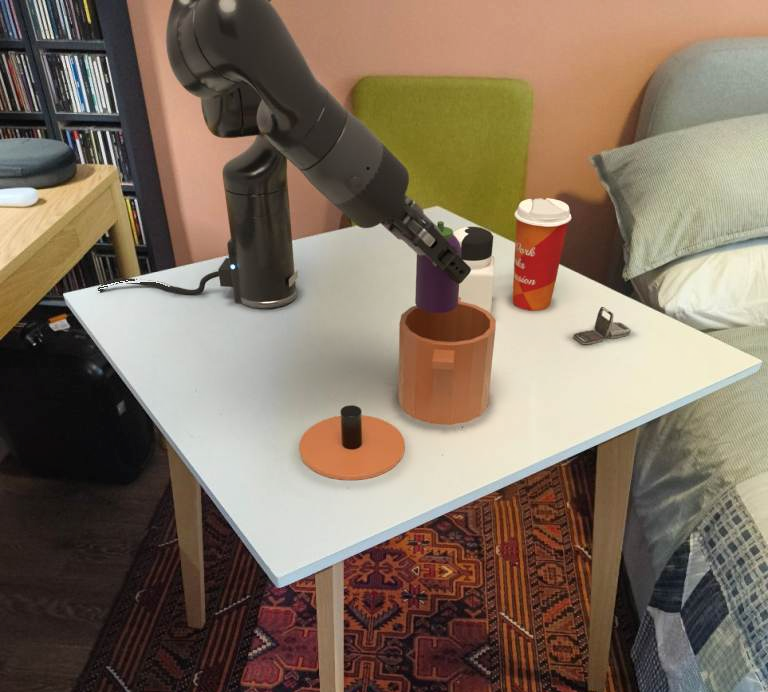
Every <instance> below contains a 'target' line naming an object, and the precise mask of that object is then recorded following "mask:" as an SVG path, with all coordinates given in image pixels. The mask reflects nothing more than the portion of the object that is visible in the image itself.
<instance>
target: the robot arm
mask: <svg viewBox="0 0 768 692" xmlns="http://www.w3.org/2000/svg"><path fill="white" fill-rule="evenodd" d="M271 1H272V0H172V1H171V5H170V9H169V14H168V18H167V22H166V31H165V46H166V54H167V58H168V59H167V60H168V62H169V66H170V68H171V71H172V73H173V75H174V77H175V78H176V80H177V81H178V82H179V84H180V85H181V86H182V88H184V90H186V91H187V92H188V93H190V95H192V96H195V97H196V98H200V105H201V112H202V115H203V120H204V123H205V125H206V127H207V129H208V131H209V132H210V133H211V134H212V135H213V136H215V137H217V138H220V139H238V138H247V137H255V139H254V140H253V142H252V144H251V145H250V146H249V147H248V148H246V150H244V151H243V152H242V153H239V154H238V155H237V156H235V157H233V158H232V159H230V160H228V161H227V162H226V163H225V164H224V166H223V168H222V183H223V189H224V198H225V205H226V212H227V220H228V227H229V235H230V239H229V240H228V242H227V253H228V257H226V258H225V259H224V260H223V262H222V263H221V265H220V266H219V267H218V269H217V271H216V270H215V271H213V272H211V273H208V274H206V275H205V276H203V277H202V278H201V279H200V280H199V284H198V287H197V288H196V289H187V288H183V287H180V286H174V285H170V287H168V286H165V285H163V284H160V283H156V282H140V283H126V284H127V285H128V284H129V285H137V286H146V287H155V288H160V289H163V290H165V291H169V292H172V293H177V294H182V295H185V296H196V295H200V294H202V293H203V292H204V290H205V288H206V284H207V283H208V282H209V281H210V280H212V279H215V278H218V279H219V286H220V287H221V288H223V287H225V288H226V287H227V288H232V290H233V291H232V292H233V299H234V303H237V304H239V303H240V304H242V305H244V306H246V307H250V308H254V309H273V308H279V307H282V306H285V305H288V304H290V303H292V302H293V301H295V299H296V298H297V295H298V291H297V290H298V289H297V279H298V278H299V270H298V269H297V270H296V271H295V258H294V247H293V246H294V245H293V234H292V233H293V232H292V221H291V210H290V196H289V185H288V184H289V183H288V161H289V162H290V163H291V164H292V165H293V166H294V167H296V169H298V170H299V171H300V172H301V173H302V175H303V176H304V177H305V179H307V181H308V182H309V183H310V184H311V185H312V186H313V187H314V188H315V189H316V190H317V191H318V192H319V193H320V194H322V196H324V197H325V198H326V199H327V200H328V201H329V202H330V203H332V204H333V205H334V207H336V208H337V209H338V210H339V211H340V212H341V213H342V214H344V215H345V216H346V217H347V218H348V219H349V220H350V221H351V222H353V223H354V224H355V225H356V226H357V227H359V228H361V229H370V228H375V227H376V226H378V225H382V226H383V227H384V228H385V229H386V230H387V231H388V232H389V233H390V234H391V235H393V236H394V237H395V238H396V239H397V240H400V241H402V242H404V243H405V244H406V245H407V246H408V247H409V248H410V249H411V250H412V251H413V252H414V253H416V255H417V254H418V255H426V256H427V257H428V258H429V259H430V260H431V261H433V264H434V265H435V266H436V267H437V268H439V269H440V268H441V269H442V270H443V271H444V272H445V273H447V274H448V275H449V276H450V277H451V278H452V279H453V280H454V281H455V282H456V283H458V284H460V283H462V282H463V280H464V279H465V278H466V277H467V276H468V275H469V273H470V272H471V268H470V267H469V266H468V265H467V264H466V263H465V262H464V261H463V260H462V259H461V258H460V257H459V256H458V255H457V253H458V252H457V251H456V248H455V247H454V246H452V245H451V244H450V243H449V242H448V241H447V240H446V239H445V238H444V237H443V236H442V235H441V230H440V229H439V228H438V227H437V224H435V222H433V220H431V219H430V218H429V217H428V216H427V215H426V214H425V212H424V209H423V208H422V207H421V206H420V204H418V203H417V202H416V201H415V200H414V199H413V198H410V197H409V196H408V195H407V194H406V193H407V190H408V188H409V183H410V175H409V171H408V169H407V167H406V166H405V165H404V164H403V163H402V162H401V161H400V160H399V159H398V157H396V156H395V155H394V154H393V152H392V151H390V149H388V148H387V146H385V144H383V142H382V141H381V140H380V139H379V138H378V137H377V135H375V134H374V133H373V132H372V131H371V130H370V129H369V128H368V126H366V125H365V124H364V122H362V121H361V120H360V119H359V118H358V117H356V116H355V115H353V114H352V113H351V112H350V111H348V109H346V108H345V107H344V106H343V105H342V103H341V102H340V101H339V100H337V98H336V97H335V96H334V95H333V94H332V93H331V92H330V91H329V90H328V89H327V88H326V86H324V85H323V84H322V83H321V82H320V81H319V80H318V79H317V78H316V77H315V75H314V73H313V71H312V70H311V68H310V66H309V64H308V62H307V60H306V57H305V56H304V55H303V53H302V51H301V50H300V48H299V46H298V44H297V43H296V41H295V39H294V38H293V36H292V34H291V32H290V31H289V29H288V27H287V25H286V24H285V22H284V20H283V18H282V17H281V16H280V13H279V12H278V10H277V9H276V8H275V7H274V5H273V4H272V3H271ZM135 279H136V280H137V279H138V278H131V277H130V278H129V277H120V278H113V279H109V280H107V281H105V282H104V283H102V284H100V286H103V285H107V284H111V283H115V282H119V283H123V282H120V281H125V282H128V281H135ZM126 280H128V281H126ZM157 282H159V281H158V280H157ZM160 282H161V281H160ZM161 283H164V282H161ZM164 284H166V282H165V283H164ZM115 285H119V284H118V283H116V284H115ZM115 285H114V284H113V285H111V286H115ZM100 286H98V287H97V289H100V288H104V287H107V288H109V287H108V286H104V287H100ZM111 286H110V287H111ZM105 290H106V289H100V290H98V291H100V293H103V292H104V291H105ZM100 293H99V294H100Z"/></svg>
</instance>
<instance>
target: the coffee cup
mask: <svg viewBox="0 0 768 692" xmlns="http://www.w3.org/2000/svg"><path fill="white" fill-rule="evenodd" d="M514 217H515V219H516V222H515V224H516V225H515V243H514V260H513V279H512V304H513V305H514V306H515V307H516V308H519V309H521V310H524V311H530V312H531V311H532V312H536V311H537V312H539V311H543V310H546V309H548V308H549V307H550V305H551V303H552V300H553V299H552V298H553V296H554V291H555V286H556V281H557V276H558V273H559V267H560V263H561V258H562V253H563V249H564V244H565V239H566V236H567V235H566V234H567V229H568V224H569V222H570V221H571V220H572V215H571V213H570V207H569V204H567V203H565V202H564V201H562V200H558V199H556V198H555V199H554V198H549V197H546V198H545V199H544V198H534V199H532V198H527V199H524V200H522V201H520V203H518V206H517V209H516V210H515V212H514Z"/></svg>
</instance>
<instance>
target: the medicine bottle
mask: <svg viewBox="0 0 768 692" xmlns="http://www.w3.org/2000/svg"><path fill="white" fill-rule="evenodd" d="M453 235H454V236H455V237H456V238H457V239H458V241H459V243H460V246H461V259H462V260H463V261H464V262H465V263H466V264H467V265H468V266H469V267H470V268H471V272H470V273H469V275H468V276H467V277H466V278H465V279H464V280H463V282H462V283H460V284H459V296H458V297H461V302H465V303H469V304H473V305H477V306H479V307H480V308H482V309H484V310H486V311H488V312H489V313H490V314H491V315H492V308H493V307H492V306H493V296H494V286H495V257H494V255H493V247H494V235H493V233H492V232H491V231H490V230H488V229H486V228H483V227H481V226H465V227H461V228H458V229H456V230H455V231H453Z"/></svg>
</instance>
